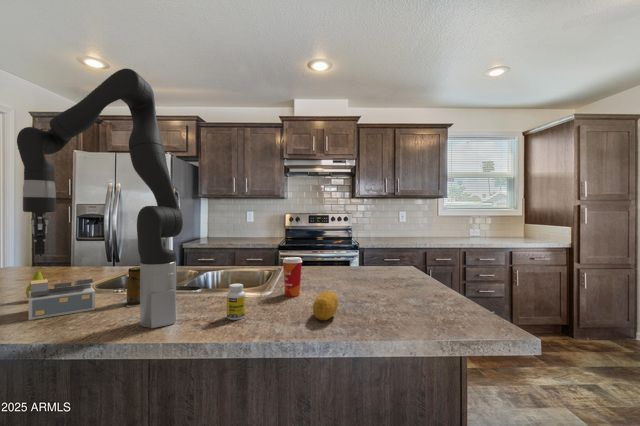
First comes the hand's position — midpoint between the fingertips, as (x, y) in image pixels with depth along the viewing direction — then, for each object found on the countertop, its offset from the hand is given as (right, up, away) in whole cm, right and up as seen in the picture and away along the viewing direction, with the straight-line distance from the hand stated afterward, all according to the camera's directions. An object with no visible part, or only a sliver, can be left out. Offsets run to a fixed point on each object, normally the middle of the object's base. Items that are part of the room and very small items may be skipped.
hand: (39, 254), depth 99 cm
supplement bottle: (+59, -19, 0) cm, 62 cm away
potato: (+86, -20, +1) cm, 88 cm away
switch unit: (+2, -19, +6) cm, 20 cm away
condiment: (+21, -19, +15) cm, 32 cm away
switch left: (-2, -11, +3) cm, 12 cm away
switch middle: (+2, -11, +6) cm, 13 cm away
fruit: (-16, -19, +18) cm, 30 cm away
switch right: (+6, -11, +10) cm, 16 cm away
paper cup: (+73, -19, +28) cm, 81 cm away
